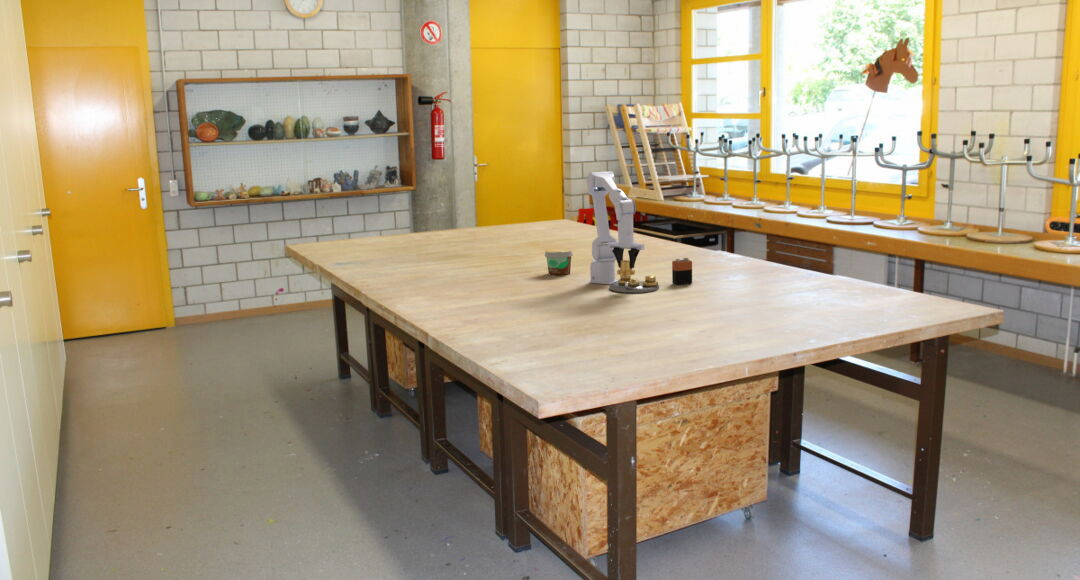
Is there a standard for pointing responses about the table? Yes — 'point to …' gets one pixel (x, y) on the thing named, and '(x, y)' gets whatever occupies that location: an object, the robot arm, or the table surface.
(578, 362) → the table surface
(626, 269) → the planet gear
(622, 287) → the carrier
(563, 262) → the food container
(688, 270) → the battery
